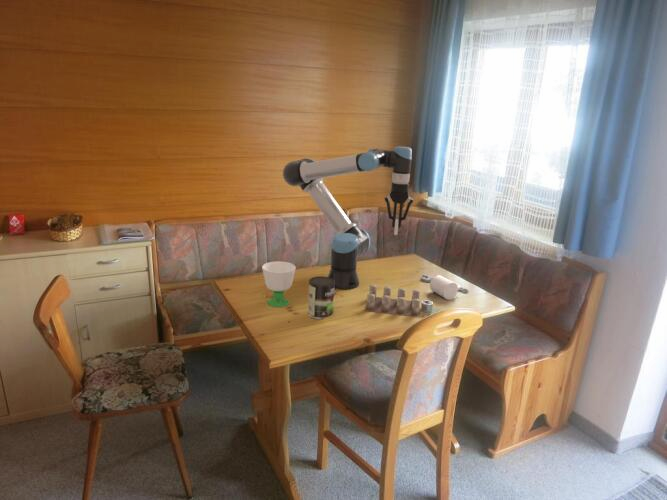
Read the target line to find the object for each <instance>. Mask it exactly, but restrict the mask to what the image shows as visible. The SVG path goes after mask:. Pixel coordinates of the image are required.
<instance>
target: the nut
mask: <svg viewBox="0 0 667 500" xmlns="http://www.w3.org/2000/svg"><path fill="white" fill-rule="evenodd" d="M433 304H434V303H433V301H432V300H428V299H423V300H421V303H420V312H424V313H426V314H427V313H429V312H432V308H434V307H433V306H434V305H433Z"/></svg>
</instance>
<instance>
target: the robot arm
mask: <svg viewBox="0 0 667 500" xmlns="http://www.w3.org/2000/svg"><path fill="white" fill-rule="evenodd" d="M412 153H413V151H412V148H411V147H409V146H399V145H398V146H395V147H394V149H393V150H388V149H381V148H380V149H378V148H371V149H369V150H367V151H366V152H361V153H359V154H358V153H357V154H352V155H346V156H340V157H334V158H329V159H323V160H318V161H316V160H314V159H311V158H301V159H298V160H293V161H289V162H288V163H286V164H285V166H283V167H284V168H283V170H282V177H283V180H284V181H285V182H286V184H287V185H289V186H291V187H299V188H300V189H301V190H302V191H303V192H304V193H308V194H309V196H310V198H311V199H312V200H313V202H314V203H315V205H316V206H317V207H318V209H319V211H320V212H321V213H322V214H323V216H324V217H325V218H326V220H327V221H328V223H329V224H330V225H331V226H332V228H333V230H334V231H335V233H336V234H335V235H334V236H333V238H332V240H331V241H332V242H331V252H330V253H331V256H330V257H331V258H330V259H331V260H330V270H329V273H327V277H329V278H332V279H334V280H335V291H336V290H341V291H342V290H353V289H356V288H358V287H359V286H360V280H359V275H358V273H357V263H358V262H357V261H358V259H359V257H361V256H362V255H364V254H365V253H367V251H368V250H369V249H370V246H371V236H370V235H369V233H368V232H367V231H366V230H365V229H361V228H360V227H359V225H358V224H357V223H354V222H352V221H351V220H350V218H349V217H348V216H347V214H346V213H345V211H344V210H343V208H342V207H341V205H340V204H339V203H338V201H337V200H336V199H335V197H334V196H333V195H332V193H331V192H330V190H329V189H328V188H327V186H326V185H325V183H324V179H326V178H332V177H337V176H338V177H339V176H343V175H349V174H354V173H355V174H356V173H360V172H371V171H374V170H377V169H379V168H385V169H386V168H388V169H392V177H391V189H390V192H389V195H387V196H385V197H384V201H385V203H386V209H387V213H388V219H389V220H392V228H394V231H393V235H394V236H398V232H399V229H400V228H401V227H402V221H405V220H406V219H407V216H408V213H409V210H410V208H411V204H412V203H413V202H414V198H411V197H410V194H409V190H410V189H409V187H410V184H409V182H410V178H411V167H412V159H413V158H412V156H413V155H412ZM391 200H392V202H393V212H392V209H391V203H390V201H391ZM406 201H407V204H406V208H405V210H404V212H403V207H404V204H405V202H406ZM398 204H399V209H398V211H399V213H398V219H397V208H398ZM402 215H403V216H402Z"/></svg>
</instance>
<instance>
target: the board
mask: <svg viewBox="0 0 667 500" xmlns="http://www.w3.org/2000/svg"><path fill="white" fill-rule="evenodd" d="M377 288H378V286H377V285H376V284H370V285H369V292H368V294H367V299H366V305H365V308H364V312H367V313H376V314H385V315H395V316H403V317H411V318H421V300H420V294H421V291H420V290H419V289H416V288H415V289H412V296H411V300H407V299H406V288H403V287H398V289H397V298H391V296H392V295H391V293H392V287H390V286H388V285H386V286H384V287H383V294H382V297H379V296H377V292H378V289H377Z"/></svg>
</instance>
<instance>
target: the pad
mask: <svg viewBox="0 0 667 500" xmlns="http://www.w3.org/2000/svg"><path fill="white" fill-rule="evenodd" d="M439 311H441V308H440V307H432V312H429V313H426V314H427V317H429V316H428V315H431V314H434V313H436V312H439ZM441 312H442V311H441Z"/></svg>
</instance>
